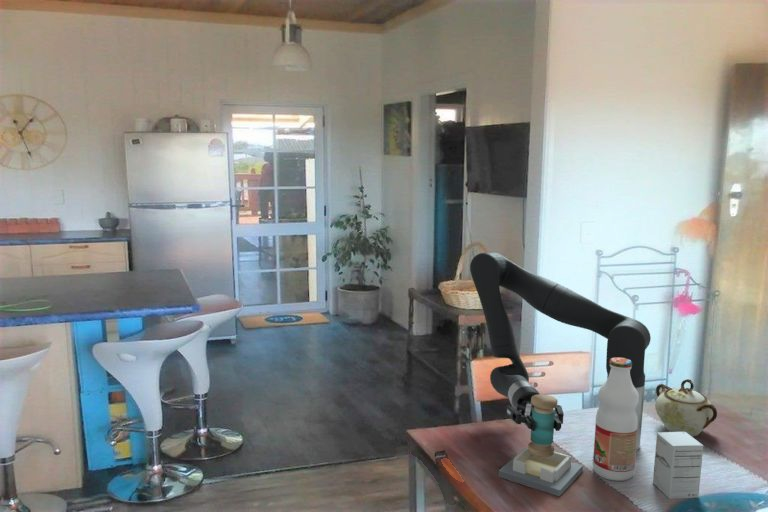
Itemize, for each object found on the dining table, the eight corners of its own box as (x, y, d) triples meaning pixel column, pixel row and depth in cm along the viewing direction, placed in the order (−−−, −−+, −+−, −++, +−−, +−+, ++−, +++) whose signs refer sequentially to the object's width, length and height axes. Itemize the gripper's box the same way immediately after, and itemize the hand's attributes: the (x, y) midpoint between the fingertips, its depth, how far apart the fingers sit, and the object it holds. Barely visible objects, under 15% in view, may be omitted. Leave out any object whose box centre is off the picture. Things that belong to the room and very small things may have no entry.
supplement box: (651, 482, 151) (655, 431, 149) (681, 482, 152) (686, 430, 150) (667, 499, 144) (672, 445, 142) (699, 498, 144) (704, 444, 142)
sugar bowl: (732, 440, 175) (738, 386, 173) (693, 449, 169) (698, 394, 167) (672, 413, 193) (676, 365, 191) (635, 421, 186) (639, 371, 184)
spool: (534, 443, 158) (537, 392, 156) (557, 450, 154) (561, 398, 152) (523, 452, 153) (527, 399, 151) (548, 459, 150) (551, 406, 148)
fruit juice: (627, 486, 149) (636, 369, 145) (587, 474, 155) (594, 361, 151) (638, 470, 157) (646, 359, 153) (599, 459, 162) (606, 351, 158)
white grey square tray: (524, 454, 165) (525, 439, 164) (582, 471, 156) (583, 455, 156) (498, 476, 153) (498, 460, 152) (559, 496, 144) (560, 479, 144)
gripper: (499, 385, 166) (516, 411, 149) (553, 385, 167) (577, 411, 150) (497, 413, 167) (515, 442, 150) (552, 413, 168) (575, 442, 151)
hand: (546, 426), depth 150 cm, fingers closed on spool, 5 cm apart
